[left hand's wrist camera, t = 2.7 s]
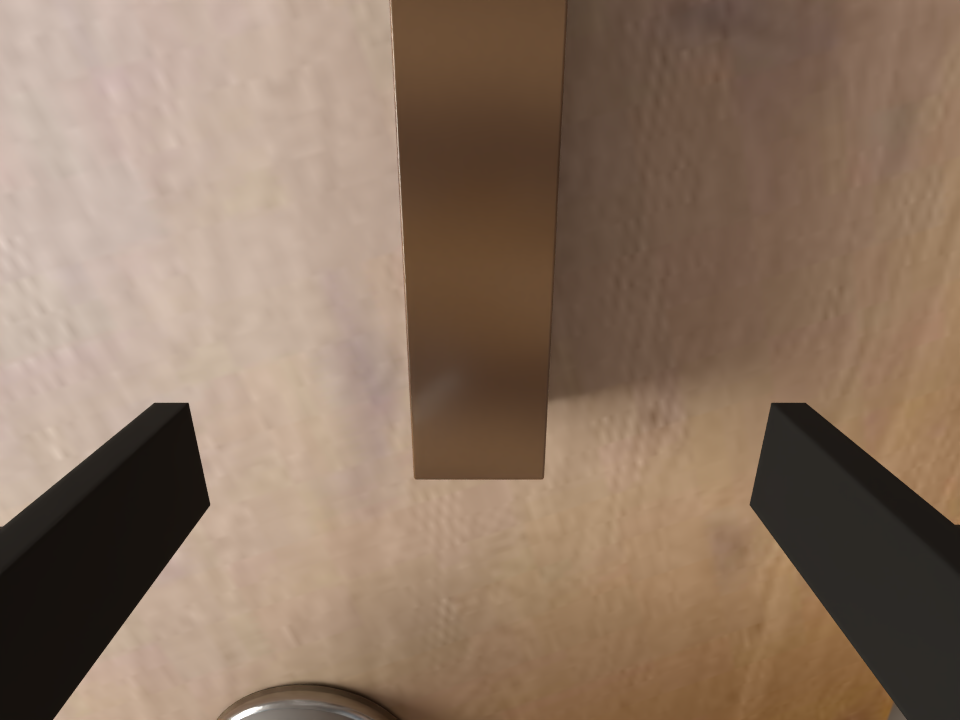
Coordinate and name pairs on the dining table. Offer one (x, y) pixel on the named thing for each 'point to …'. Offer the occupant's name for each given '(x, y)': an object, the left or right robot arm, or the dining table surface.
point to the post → (478, 226)
